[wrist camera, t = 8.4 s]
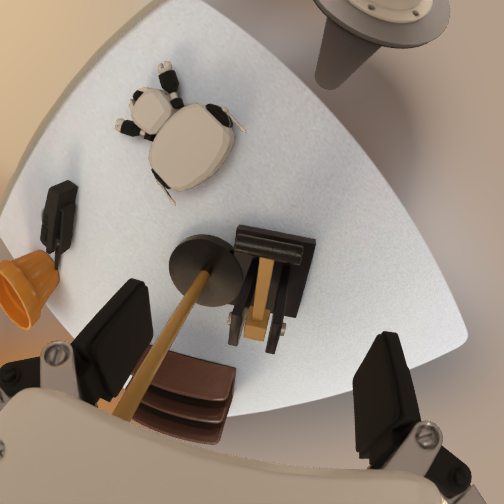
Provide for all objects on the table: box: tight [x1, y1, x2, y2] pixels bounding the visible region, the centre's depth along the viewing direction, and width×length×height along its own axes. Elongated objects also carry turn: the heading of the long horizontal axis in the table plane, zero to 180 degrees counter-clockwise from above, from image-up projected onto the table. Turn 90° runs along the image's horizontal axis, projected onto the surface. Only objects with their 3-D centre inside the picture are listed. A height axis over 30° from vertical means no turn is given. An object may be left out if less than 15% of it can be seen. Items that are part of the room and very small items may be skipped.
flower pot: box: [0, 250, 59, 330], centre depth 43 cm, size 14×14×13 cm
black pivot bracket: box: [227, 225, 316, 354], centre depth 33 cm, size 12×10×13 cm
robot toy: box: [115, 61, 246, 206], centre depth 30 cm, size 12×4×15 cm
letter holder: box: [125, 345, 236, 445], centre depth 46 cm, size 10×20×14 cm, turn 84°
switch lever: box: [234, 234, 303, 342], centre depth 25 cm, size 13×5×2 cm, turn 172°
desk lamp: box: [112, 235, 243, 422], centre depth 24 cm, size 13×13×38 cm
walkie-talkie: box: [40, 180, 77, 270], centre depth 40 cm, size 6×6×20 cm
